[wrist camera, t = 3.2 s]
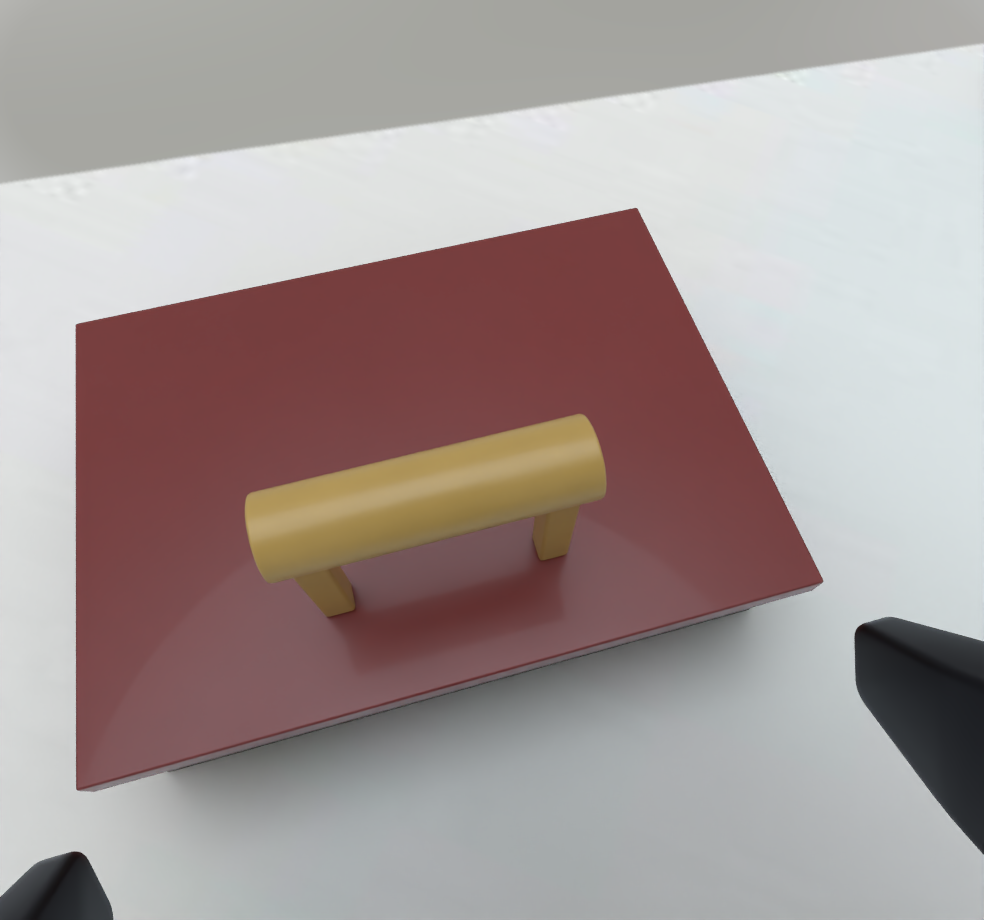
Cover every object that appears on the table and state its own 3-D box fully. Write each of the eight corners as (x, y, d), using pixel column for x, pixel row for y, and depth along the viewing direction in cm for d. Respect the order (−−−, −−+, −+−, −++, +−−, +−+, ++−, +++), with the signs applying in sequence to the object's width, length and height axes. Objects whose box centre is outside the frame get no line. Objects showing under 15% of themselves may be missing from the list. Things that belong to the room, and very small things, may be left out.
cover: (812, 590, 17) (955, 488, 12) (92, 792, 15) (-125, 779, 10) (633, 223, 22) (675, 41, 17) (87, 338, 20) (-54, 173, 15)
